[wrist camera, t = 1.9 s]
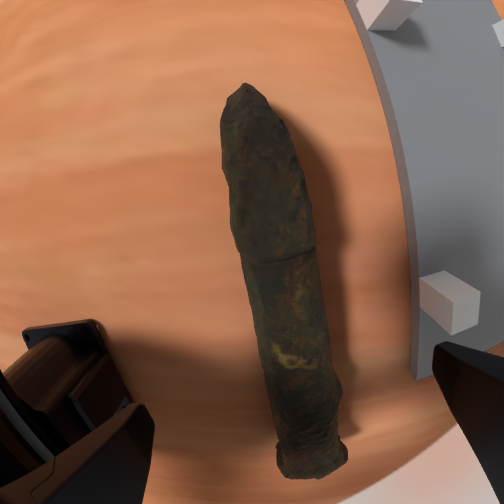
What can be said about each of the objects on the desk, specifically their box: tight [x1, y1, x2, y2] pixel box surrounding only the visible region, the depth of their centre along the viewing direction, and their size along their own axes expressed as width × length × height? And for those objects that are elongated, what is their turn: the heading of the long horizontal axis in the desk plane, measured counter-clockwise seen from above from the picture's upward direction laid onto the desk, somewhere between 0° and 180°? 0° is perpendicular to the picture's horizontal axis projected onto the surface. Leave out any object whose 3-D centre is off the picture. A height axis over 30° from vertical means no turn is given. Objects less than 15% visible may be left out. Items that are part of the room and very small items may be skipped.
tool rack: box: [344, 0, 504, 381], centre depth 9 cm, size 11×24×4 cm, turn 13°
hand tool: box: [220, 83, 348, 479], centre depth 12 cm, size 19×4×5 cm, turn 9°
